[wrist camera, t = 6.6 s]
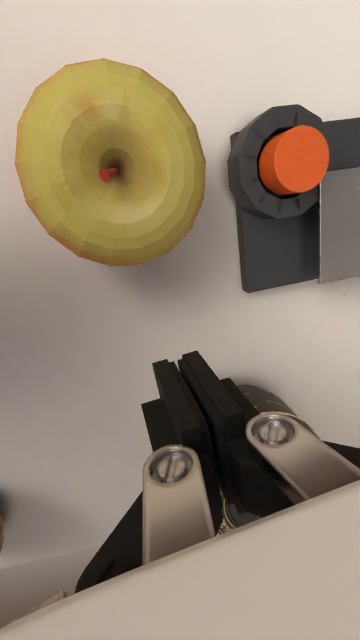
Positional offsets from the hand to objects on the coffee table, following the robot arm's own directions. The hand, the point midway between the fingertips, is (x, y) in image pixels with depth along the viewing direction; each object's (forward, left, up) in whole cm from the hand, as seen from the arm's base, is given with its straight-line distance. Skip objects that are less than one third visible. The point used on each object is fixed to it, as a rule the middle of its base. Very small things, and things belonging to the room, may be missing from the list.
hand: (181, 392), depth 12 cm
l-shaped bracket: (+14, +5, -13) cm, 20 cm away
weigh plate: (+16, +3, -10) cm, 20 cm away
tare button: (+11, +8, -11) cm, 17 cm away
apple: (0, +8, -14) cm, 16 cm away
